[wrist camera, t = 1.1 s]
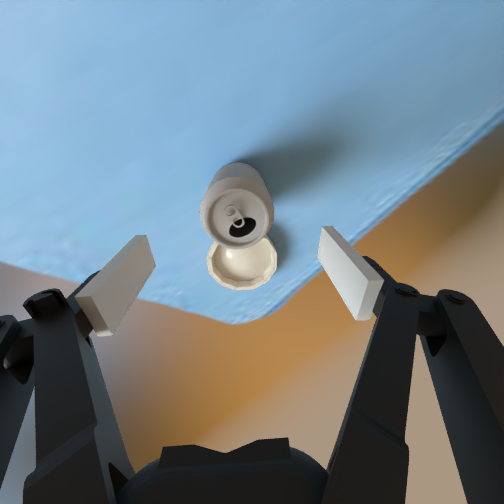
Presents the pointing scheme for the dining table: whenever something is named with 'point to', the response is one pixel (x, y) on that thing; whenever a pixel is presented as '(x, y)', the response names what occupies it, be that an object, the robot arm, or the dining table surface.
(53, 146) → the dining table surface
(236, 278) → the bowl
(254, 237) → the can
